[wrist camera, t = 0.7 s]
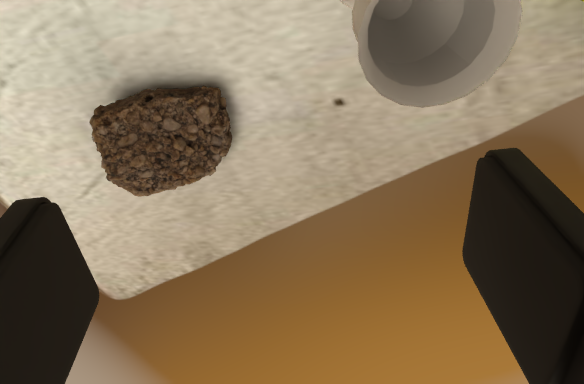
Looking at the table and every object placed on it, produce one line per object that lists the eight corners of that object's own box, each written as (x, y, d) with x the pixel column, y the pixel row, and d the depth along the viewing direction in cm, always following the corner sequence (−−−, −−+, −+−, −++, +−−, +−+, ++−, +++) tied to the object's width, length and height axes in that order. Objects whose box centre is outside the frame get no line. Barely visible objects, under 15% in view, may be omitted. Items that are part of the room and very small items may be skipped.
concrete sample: (115, 174, 43) (99, 203, 39) (98, 73, 38) (77, 95, 34) (232, 178, 44) (228, 208, 40) (232, 81, 39) (228, 104, 35)
